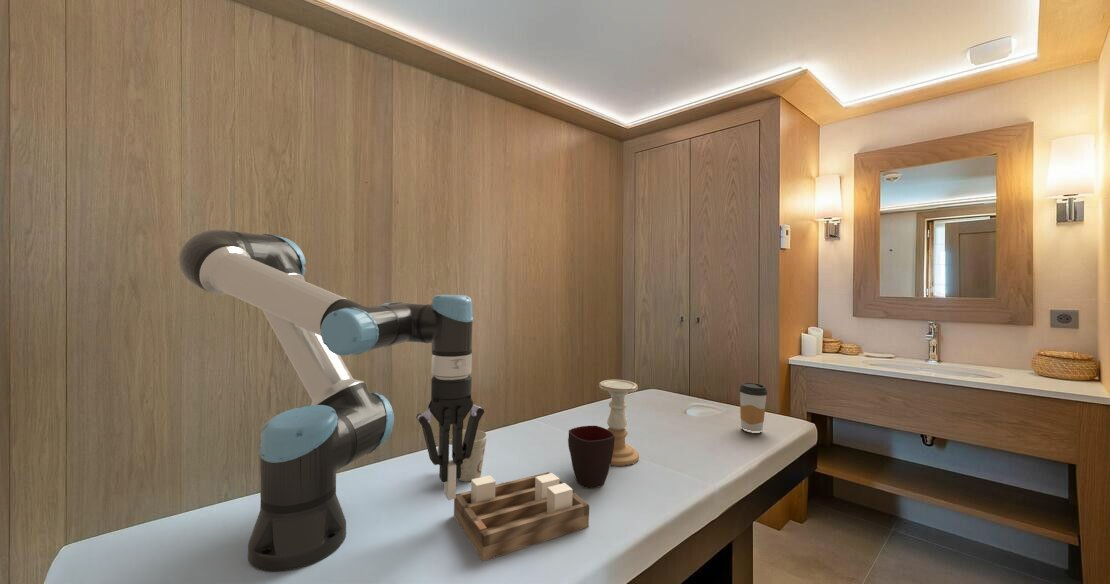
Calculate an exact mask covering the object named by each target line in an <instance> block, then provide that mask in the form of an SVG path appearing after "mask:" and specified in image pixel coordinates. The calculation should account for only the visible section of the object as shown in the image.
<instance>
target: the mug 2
mask: <svg viewBox="0 0 1110 584" xmlns="http://www.w3.org/2000/svg"><path fill="white" fill-rule="evenodd" d="M607 429H608V428H605V427H602V426H598V425H584V426H583V425H582V426H577V427H574V428H573V427H572V428H570V429H568V437H567V438H568V439H567V445H568V446H567V447H568V450H569V455H570V460H571V466H572V470H573V474H574V477H575V478H574V479H575V480H576V483H577V484H578V485H580V486H581V487H583V488H585V489H596V488H600V487H602V486H604V485H605V482H606V481H607V477H608V474H609V471H610V468H611V465H610V464H611V460H612V456H613V450H614V441H615V436H614V434H613V433H612V432H610V431H609V430H607Z"/></svg>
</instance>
